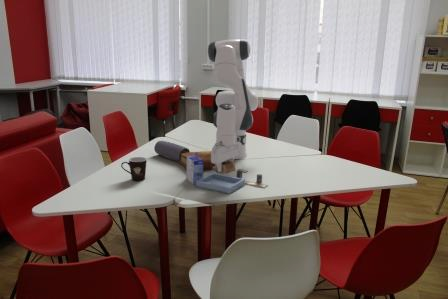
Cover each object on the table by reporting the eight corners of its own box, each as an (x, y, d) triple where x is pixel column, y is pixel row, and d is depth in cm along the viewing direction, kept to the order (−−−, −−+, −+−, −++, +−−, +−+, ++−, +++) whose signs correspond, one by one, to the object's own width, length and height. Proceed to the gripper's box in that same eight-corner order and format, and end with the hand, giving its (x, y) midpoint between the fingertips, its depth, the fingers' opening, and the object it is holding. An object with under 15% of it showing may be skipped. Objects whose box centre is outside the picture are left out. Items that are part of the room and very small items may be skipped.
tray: (196, 186, 180) (196, 181, 179) (213, 178, 192) (213, 172, 192) (229, 194, 171) (229, 188, 170) (244, 184, 183) (245, 179, 183)
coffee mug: (150, 177, 192) (149, 158, 190) (141, 182, 184) (140, 162, 182) (130, 174, 196) (129, 155, 193) (120, 179, 188) (119, 160, 186)
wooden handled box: (230, 181, 188) (230, 171, 187) (239, 176, 196) (239, 166, 195) (264, 188, 179) (265, 178, 178) (272, 182, 187) (272, 173, 186)
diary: (191, 171, 198) (192, 161, 196) (178, 162, 214) (178, 152, 212) (230, 168, 208) (231, 158, 207) (214, 160, 224) (215, 150, 223)
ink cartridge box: (203, 184, 185) (204, 155, 181) (193, 185, 182) (193, 156, 179) (196, 178, 193) (196, 150, 190) (186, 179, 191) (185, 151, 187)
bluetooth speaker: (190, 163, 218) (191, 146, 216) (178, 165, 211) (179, 148, 209) (165, 154, 233) (166, 138, 231) (153, 156, 226) (153, 140, 224)
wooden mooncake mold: (209, 170, 183) (208, 162, 182) (219, 167, 187) (218, 159, 186) (224, 174, 174) (223, 165, 173) (235, 170, 178) (234, 162, 177)
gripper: (219, 145, 164) (219, 175, 168) (242, 137, 182) (241, 164, 185) (207, 143, 168) (207, 173, 171) (230, 135, 185) (230, 162, 188)
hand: (225, 168), depth 178 cm, fingers closed on wooden mooncake mold, 8 cm apart
